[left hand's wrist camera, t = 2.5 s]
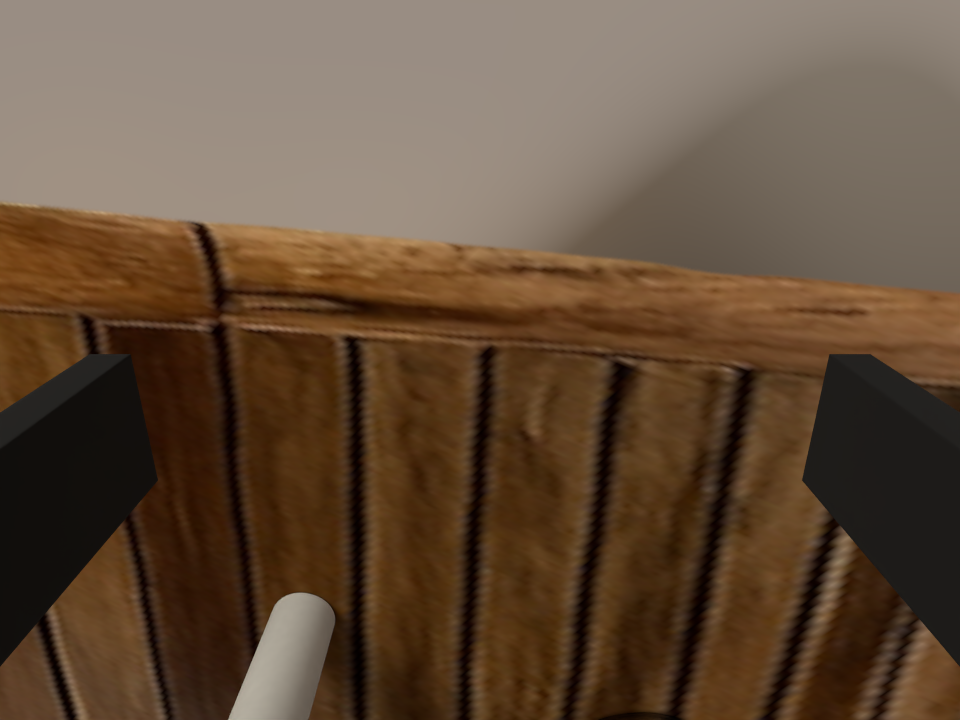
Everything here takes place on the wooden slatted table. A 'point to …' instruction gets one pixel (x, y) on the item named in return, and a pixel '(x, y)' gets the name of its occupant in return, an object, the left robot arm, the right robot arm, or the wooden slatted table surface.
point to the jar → (287, 661)
